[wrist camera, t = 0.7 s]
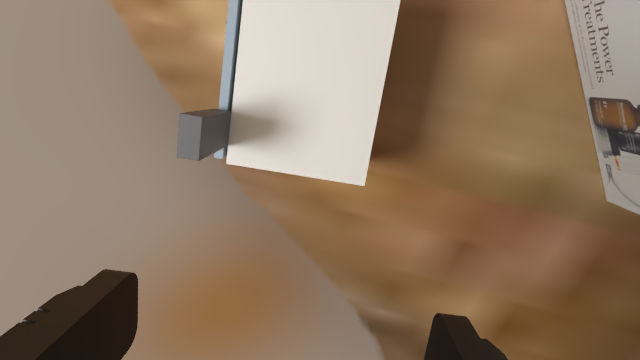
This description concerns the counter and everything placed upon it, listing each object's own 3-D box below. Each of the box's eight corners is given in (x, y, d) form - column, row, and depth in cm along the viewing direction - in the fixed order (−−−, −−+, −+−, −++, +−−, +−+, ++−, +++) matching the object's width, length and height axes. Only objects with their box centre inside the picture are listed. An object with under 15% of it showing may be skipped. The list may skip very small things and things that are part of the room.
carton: (272, -10, 33) (248, -54, 23) (383, 8, 33) (405, -28, 23) (254, 144, 36) (226, 163, 26) (355, 160, 36) (364, 185, 26)
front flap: (258, -12, 32) (195, -106, 17) (272, -10, 32) (220, -102, 17) (242, 139, 36) (175, 175, 20) (254, 141, 36) (196, 178, 20)
